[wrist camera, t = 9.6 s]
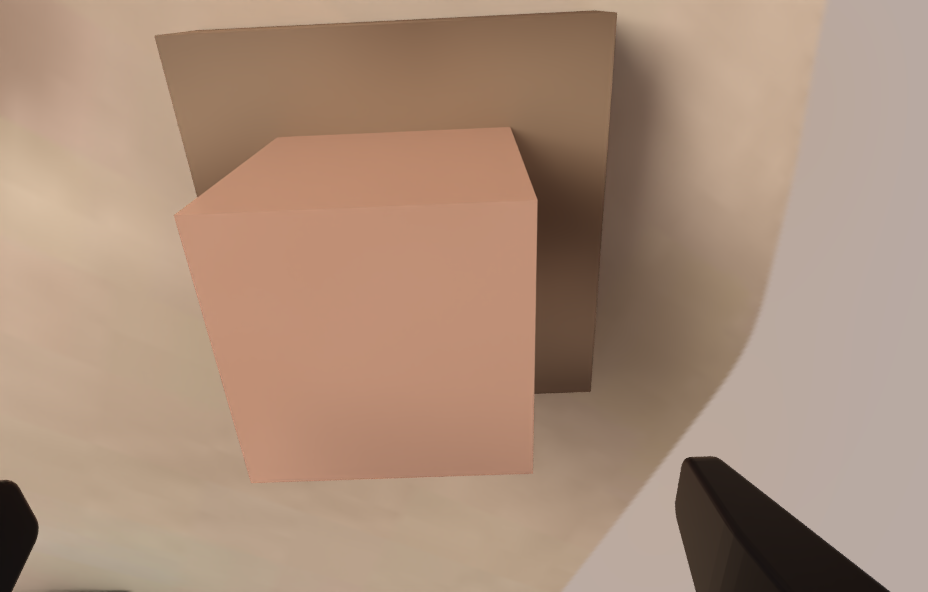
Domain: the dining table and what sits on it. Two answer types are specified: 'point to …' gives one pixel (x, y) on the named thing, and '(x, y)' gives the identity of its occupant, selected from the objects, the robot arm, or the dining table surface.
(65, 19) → the dining table surface
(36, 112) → the dining table surface
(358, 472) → the terracotta cube
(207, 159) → the walnut base
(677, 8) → the dining table surface
